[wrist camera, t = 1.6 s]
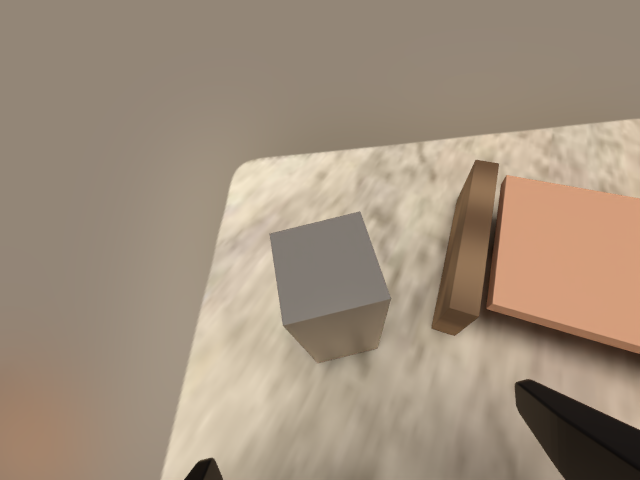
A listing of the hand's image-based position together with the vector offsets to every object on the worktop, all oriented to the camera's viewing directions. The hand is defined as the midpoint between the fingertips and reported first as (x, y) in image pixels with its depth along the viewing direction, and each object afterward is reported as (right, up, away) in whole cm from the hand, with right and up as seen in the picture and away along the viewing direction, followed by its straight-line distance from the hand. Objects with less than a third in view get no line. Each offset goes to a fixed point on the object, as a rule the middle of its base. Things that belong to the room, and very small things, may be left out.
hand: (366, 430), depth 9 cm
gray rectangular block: (0, -1, +14) cm, 14 cm away
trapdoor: (+16, +3, +12) cm, 21 cm away
